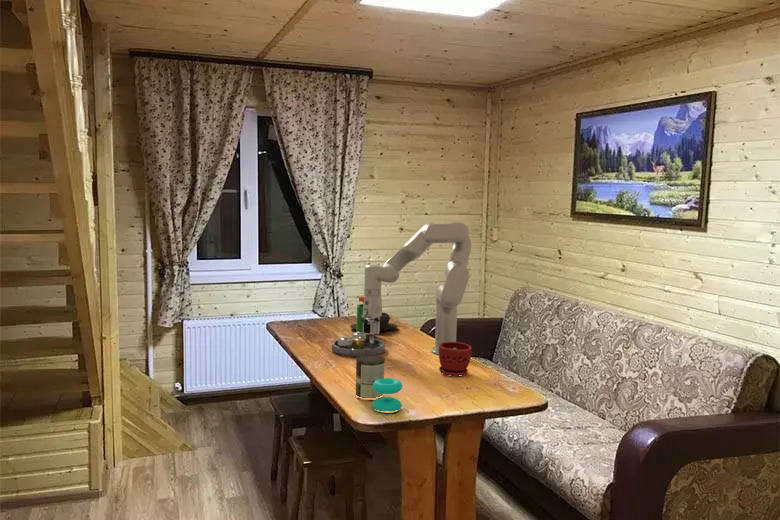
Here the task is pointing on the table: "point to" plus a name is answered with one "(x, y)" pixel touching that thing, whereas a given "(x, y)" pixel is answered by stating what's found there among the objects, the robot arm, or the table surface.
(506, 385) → the table surface
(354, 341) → the carrier
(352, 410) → the table surface
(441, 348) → the plant pot
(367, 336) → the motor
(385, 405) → the donuts
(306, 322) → the table surface
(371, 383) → the coffee can
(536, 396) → the table surface
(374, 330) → the planet gear
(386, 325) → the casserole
